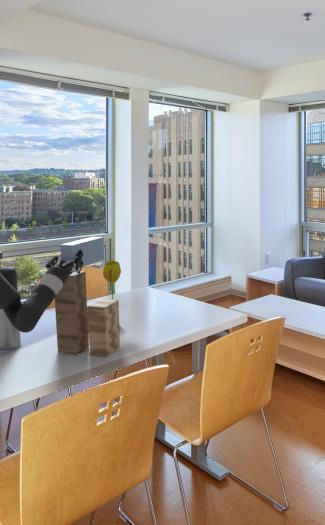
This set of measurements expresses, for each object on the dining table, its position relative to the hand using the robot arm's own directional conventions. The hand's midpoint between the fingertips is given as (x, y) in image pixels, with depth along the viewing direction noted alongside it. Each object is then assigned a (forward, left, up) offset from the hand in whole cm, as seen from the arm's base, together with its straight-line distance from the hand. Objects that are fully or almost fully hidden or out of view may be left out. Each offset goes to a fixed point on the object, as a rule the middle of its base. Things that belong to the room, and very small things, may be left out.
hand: (75, 251), depth 172 cm
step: (+8, +10, -42) cm, 44 cm away
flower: (+7, +47, -43) cm, 64 cm away
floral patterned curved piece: (-2, +36, -43) cm, 56 cm away
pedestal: (-5, +12, -42) cm, 44 cm away
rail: (+2, +5, -6) cm, 8 cm away
